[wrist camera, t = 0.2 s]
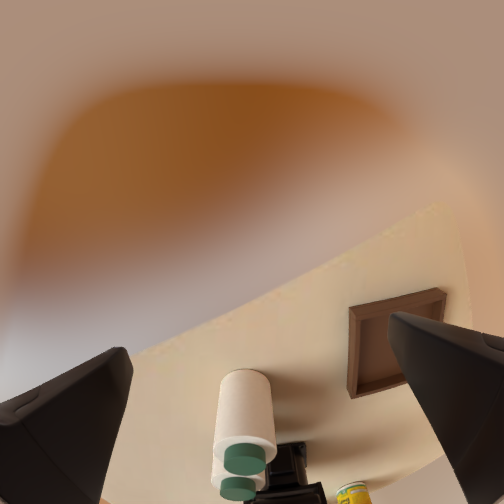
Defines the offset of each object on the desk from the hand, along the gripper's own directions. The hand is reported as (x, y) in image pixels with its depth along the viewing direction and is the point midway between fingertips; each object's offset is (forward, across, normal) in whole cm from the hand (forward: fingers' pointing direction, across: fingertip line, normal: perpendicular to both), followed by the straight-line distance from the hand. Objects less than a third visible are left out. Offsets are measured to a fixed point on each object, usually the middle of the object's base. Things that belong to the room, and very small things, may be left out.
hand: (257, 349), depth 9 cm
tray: (+15, -13, +12) cm, 23 cm away
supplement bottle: (+15, -11, +44) cm, 48 cm away
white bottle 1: (+15, +3, +14) cm, 21 cm away
